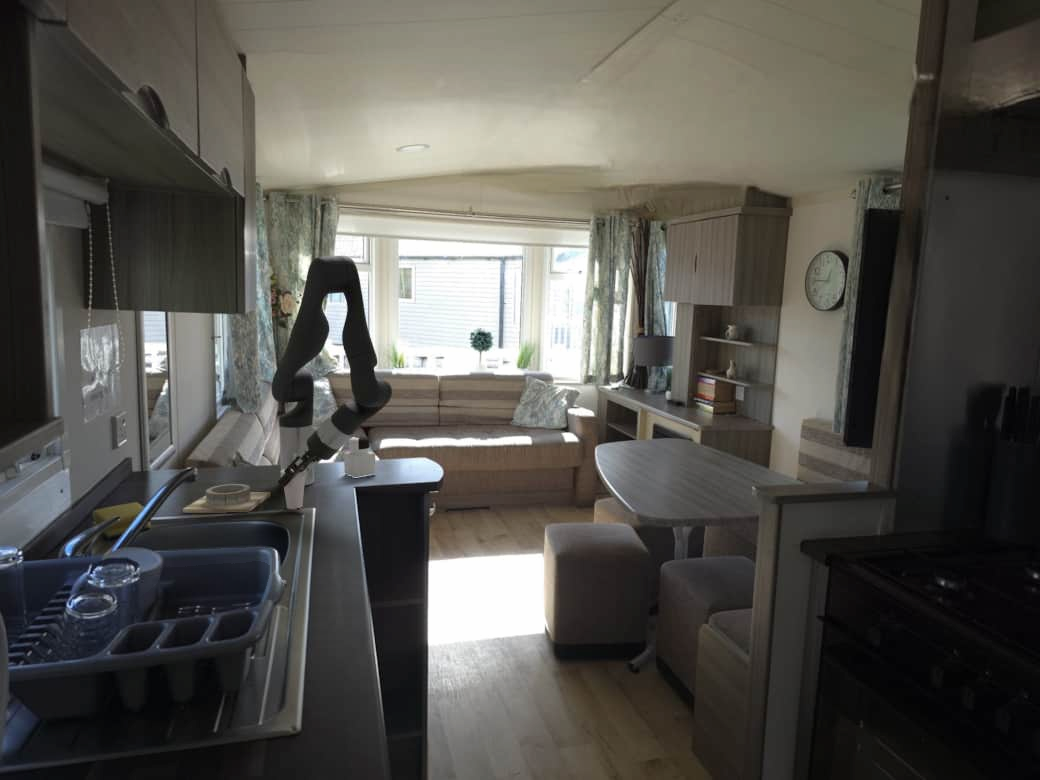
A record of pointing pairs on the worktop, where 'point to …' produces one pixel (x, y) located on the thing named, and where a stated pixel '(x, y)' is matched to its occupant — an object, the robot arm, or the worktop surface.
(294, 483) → the smoothie
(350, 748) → the worktop surface
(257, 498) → the collar stand
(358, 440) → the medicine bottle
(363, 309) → the robot arm
